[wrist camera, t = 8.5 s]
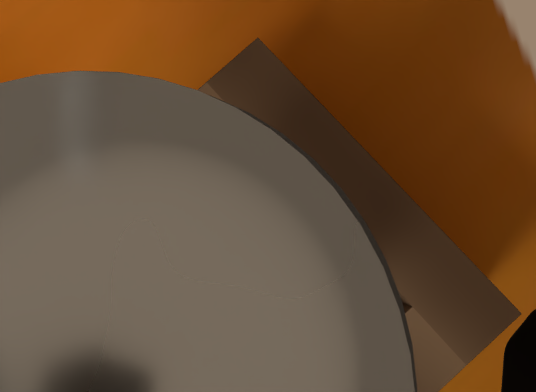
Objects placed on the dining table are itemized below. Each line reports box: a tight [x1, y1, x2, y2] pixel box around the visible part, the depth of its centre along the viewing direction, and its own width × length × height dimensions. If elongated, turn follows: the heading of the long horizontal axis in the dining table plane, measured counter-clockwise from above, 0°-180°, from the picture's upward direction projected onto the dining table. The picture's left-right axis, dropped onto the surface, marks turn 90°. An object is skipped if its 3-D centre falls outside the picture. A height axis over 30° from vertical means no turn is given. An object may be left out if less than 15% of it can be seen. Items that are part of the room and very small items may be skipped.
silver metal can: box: [0, 71, 417, 392], centre depth 10 cm, size 5×5×13 cm
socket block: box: [198, 38, 521, 392], centre depth 15 cm, size 10×10×4 cm
